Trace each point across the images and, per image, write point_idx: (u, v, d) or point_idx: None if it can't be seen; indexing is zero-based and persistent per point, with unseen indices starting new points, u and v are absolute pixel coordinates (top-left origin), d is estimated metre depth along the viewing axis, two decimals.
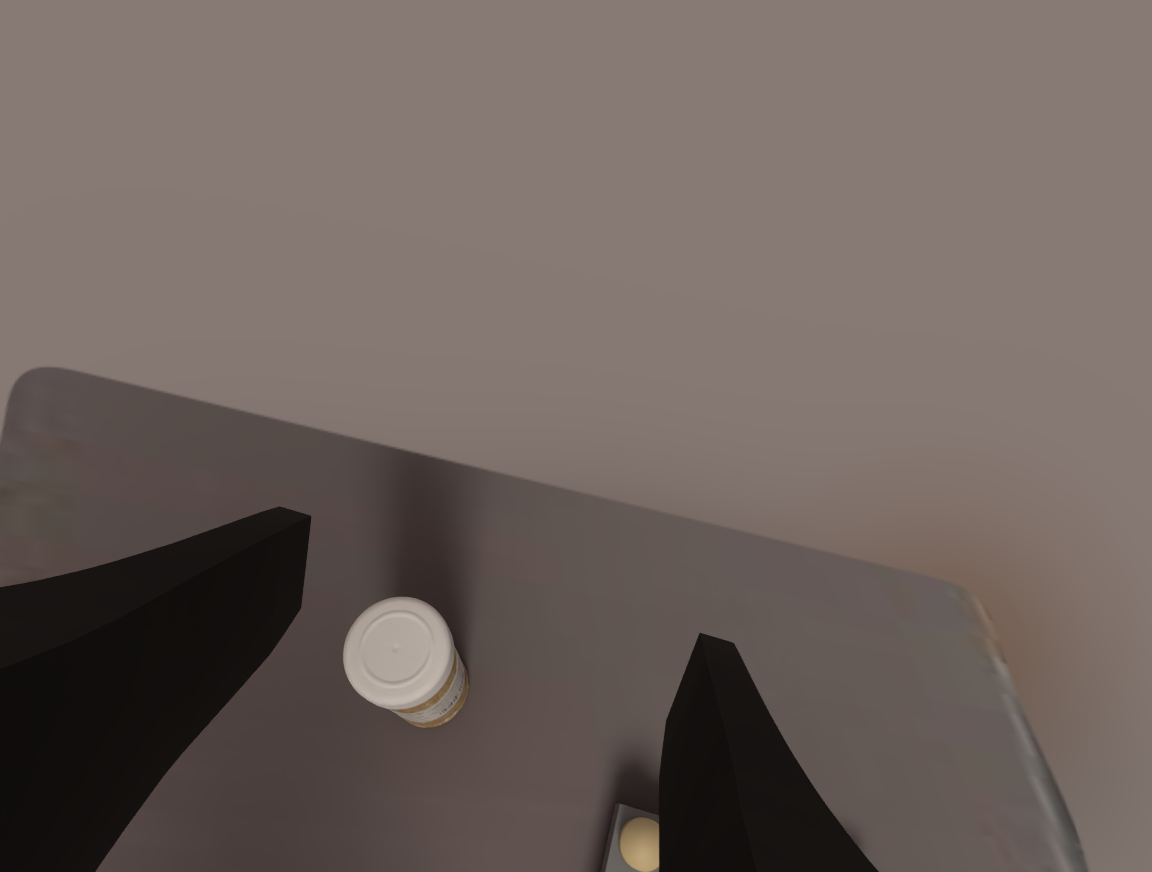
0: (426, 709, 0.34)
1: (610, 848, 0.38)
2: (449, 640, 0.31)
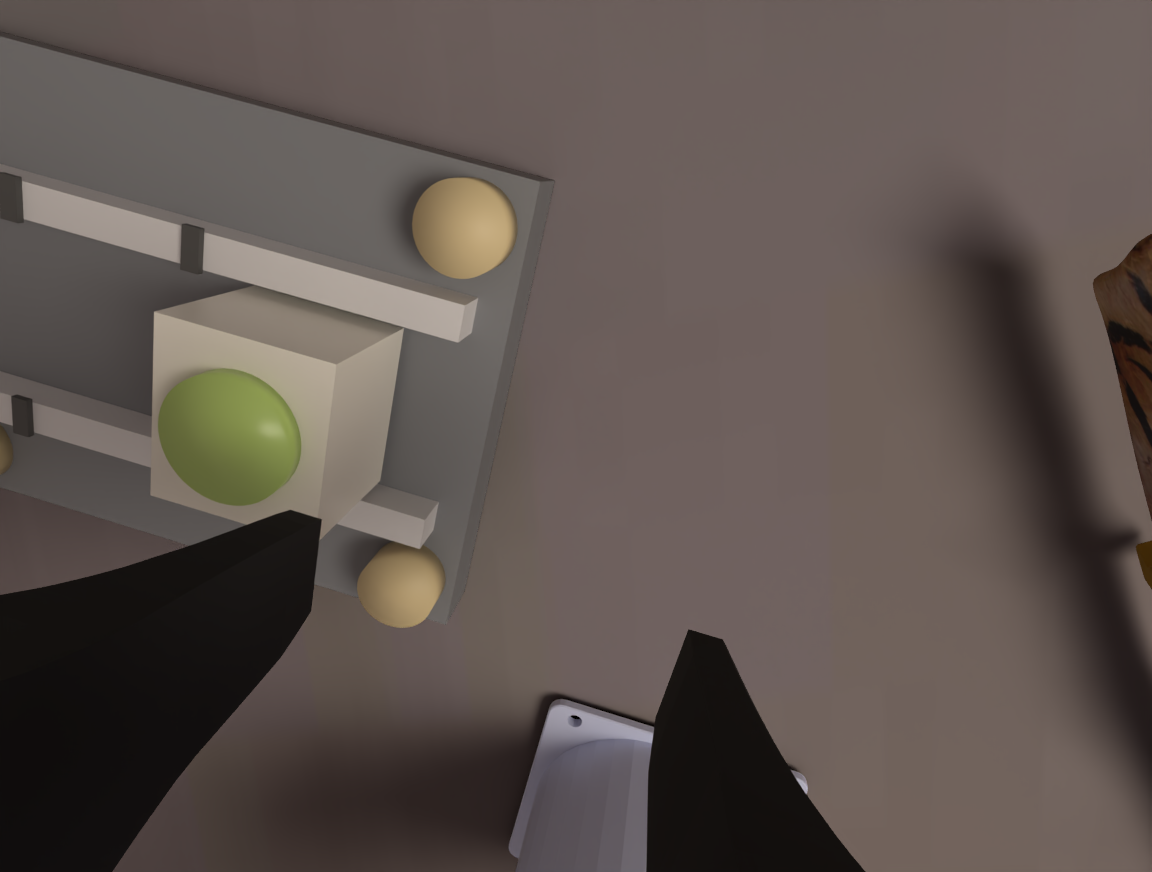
0: None
1: (3, 486, 0.24)
2: None
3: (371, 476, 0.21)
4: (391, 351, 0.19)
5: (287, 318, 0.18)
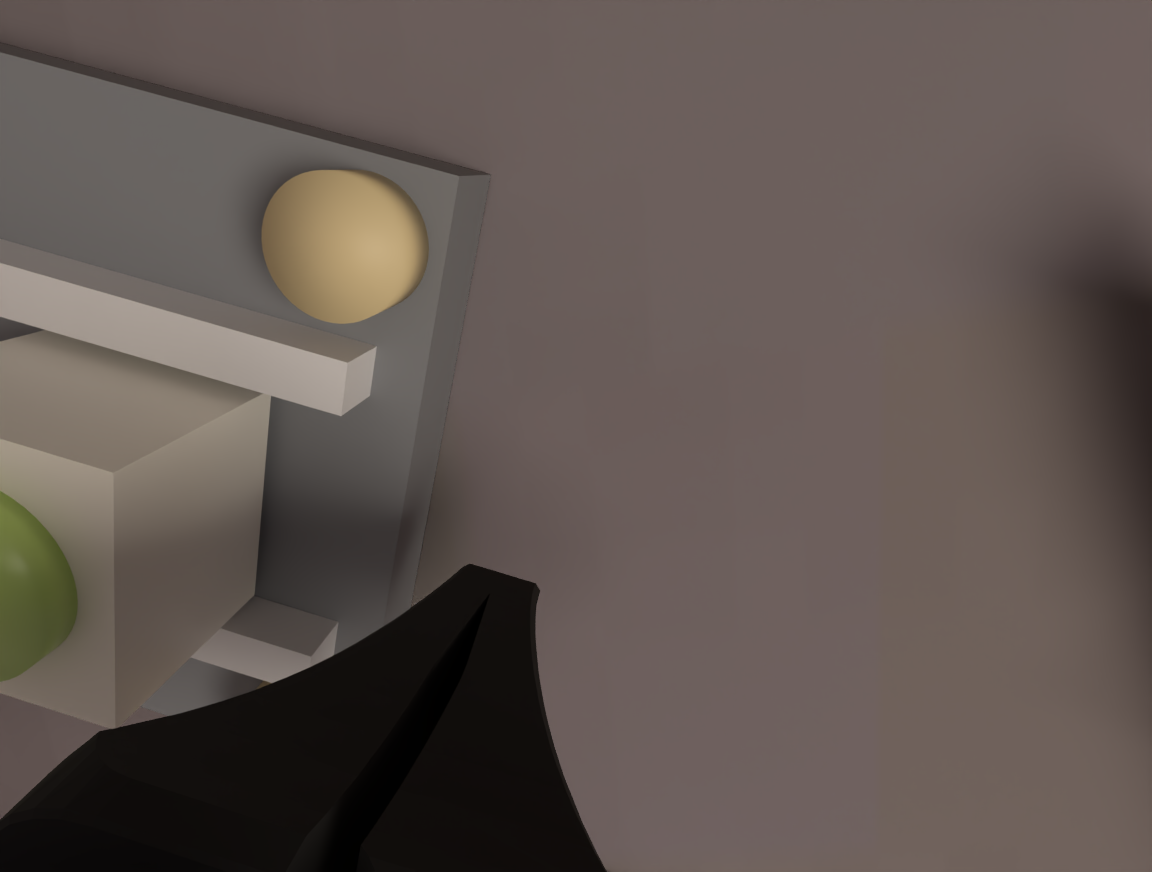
0: None
1: None
2: None
3: (235, 596, 0.15)
4: (249, 426, 0.13)
5: (76, 384, 0.12)
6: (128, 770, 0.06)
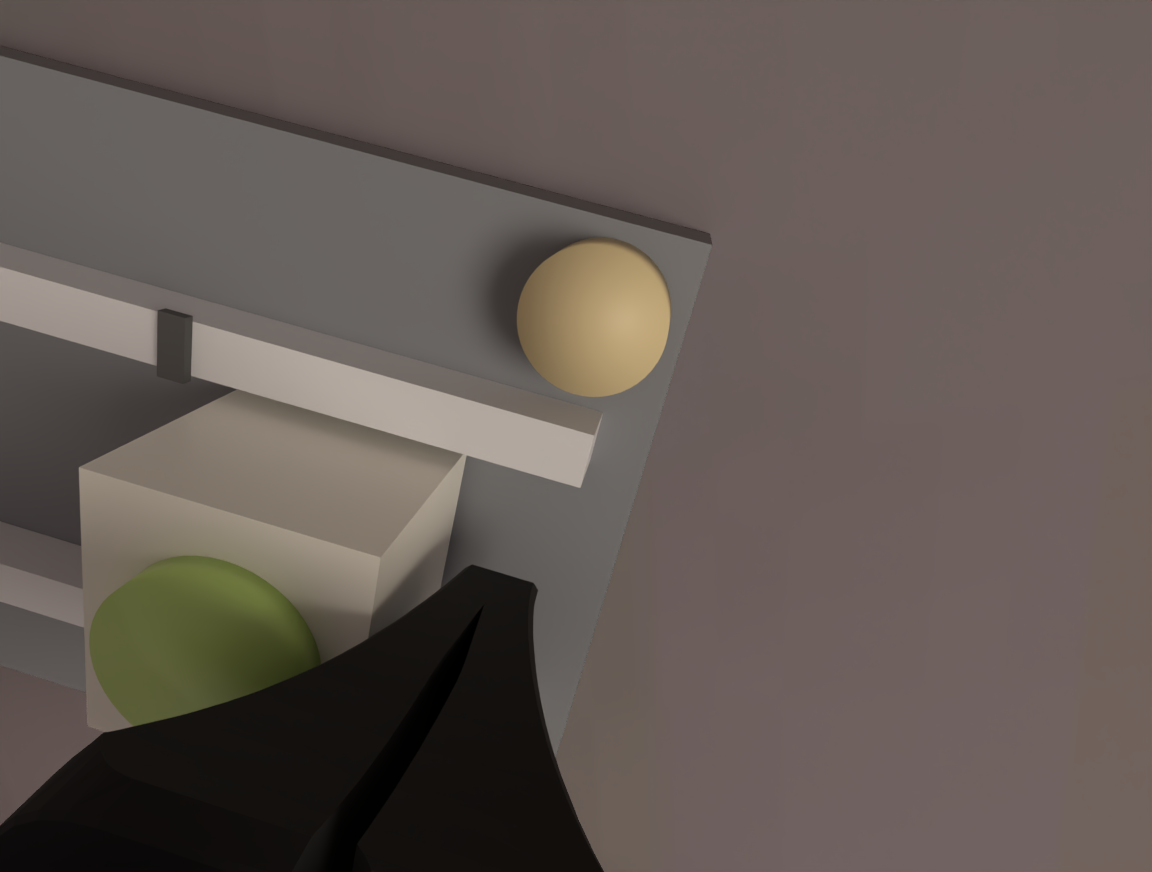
0: None
1: None
2: None
3: None
4: (452, 488, 0.13)
5: (296, 452, 0.12)
6: (133, 771, 0.06)
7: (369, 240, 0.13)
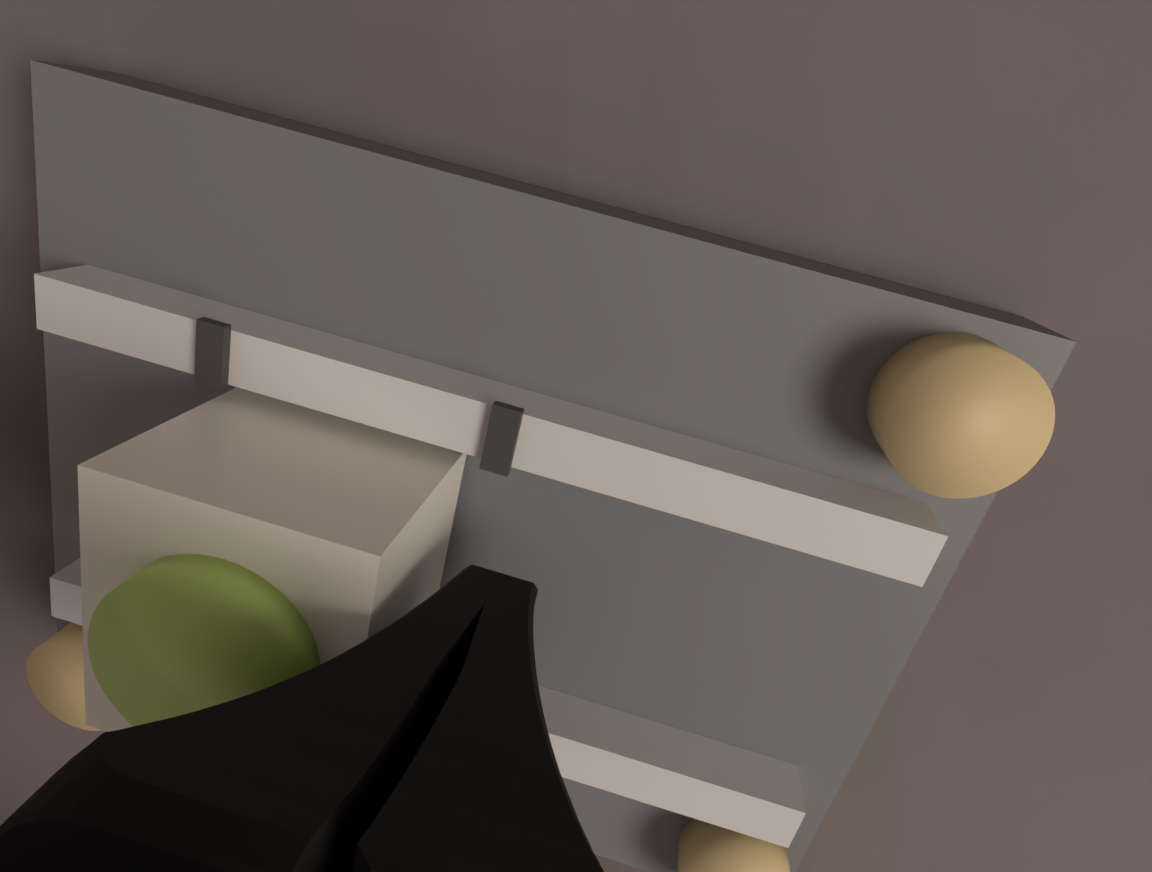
0: None
1: None
2: None
3: None
4: (451, 487, 0.13)
5: (295, 450, 0.12)
6: (132, 771, 0.06)
7: (698, 329, 0.12)
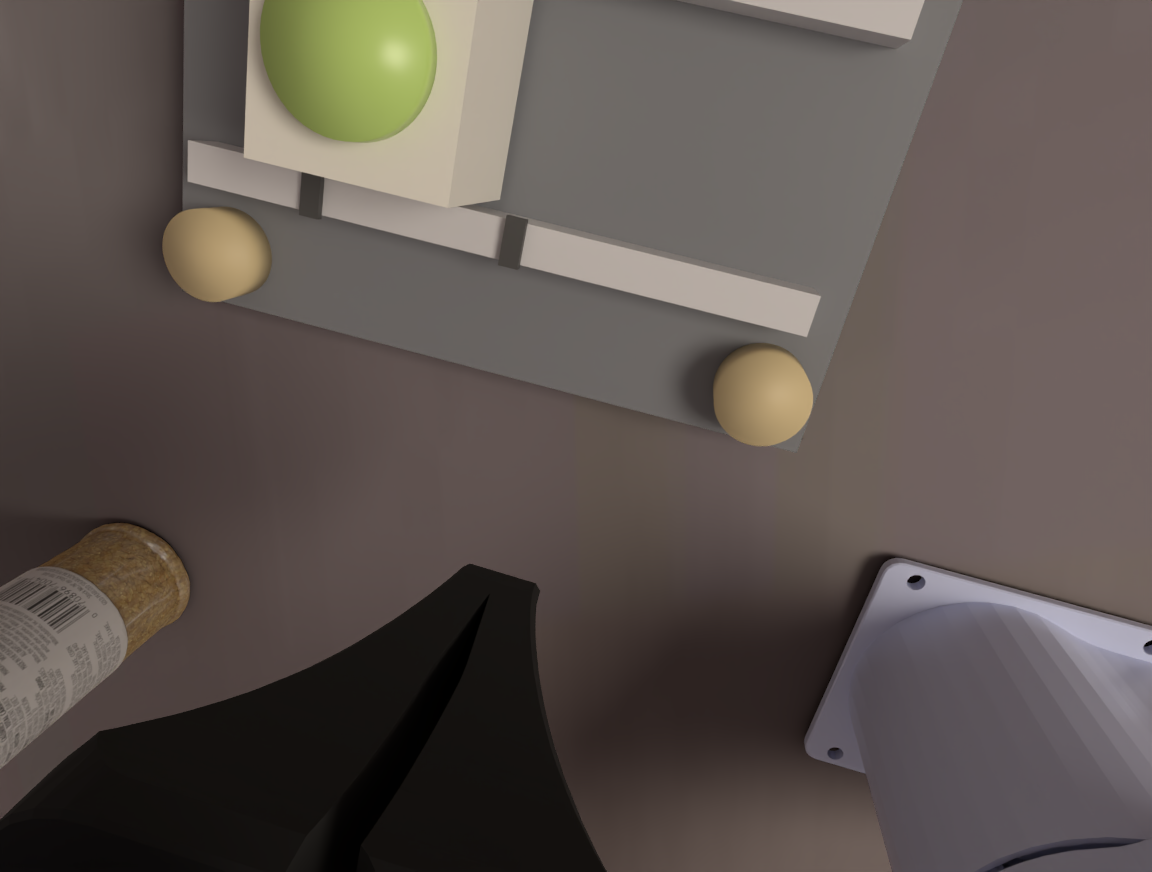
0: None
1: (253, 308, 0.21)
2: None
3: (495, 180, 0.17)
4: (525, 2, 0.16)
5: None
6: (128, 770, 0.06)
7: None
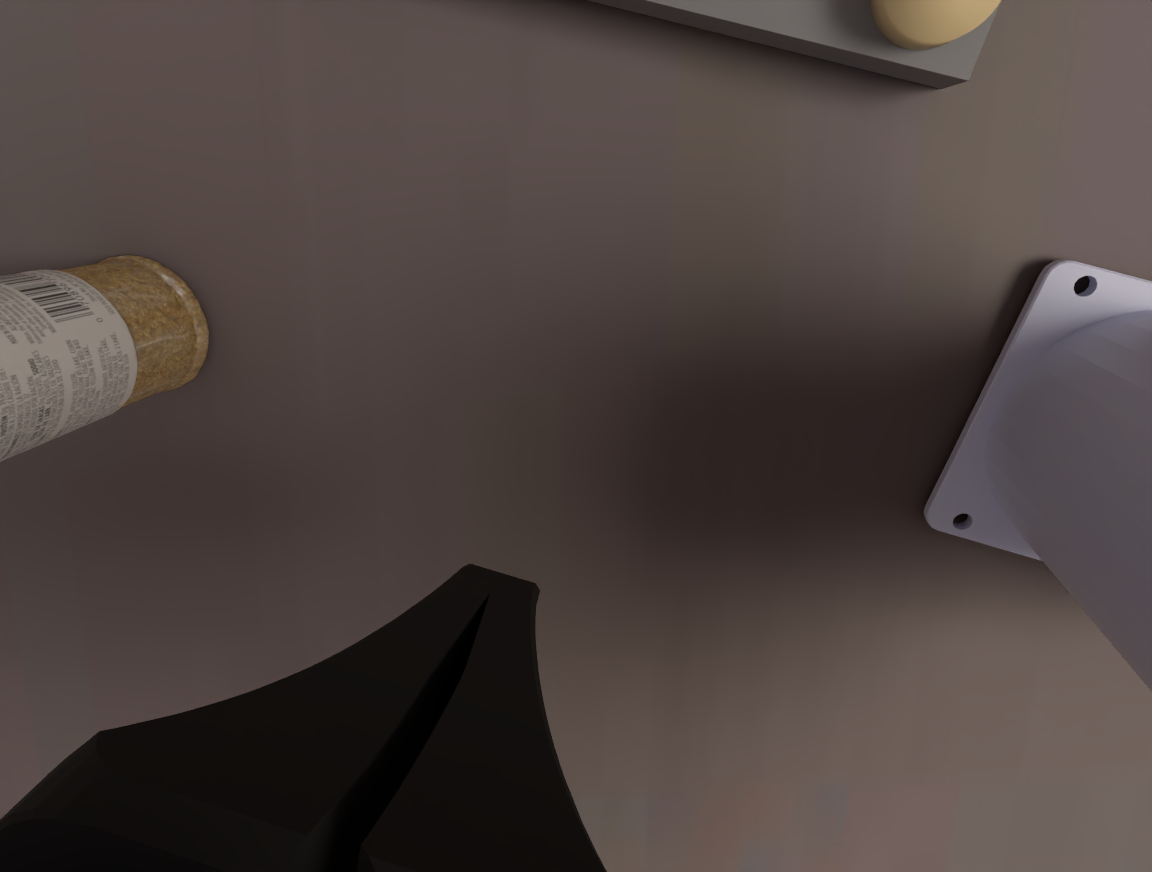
0: None
1: None
2: None
3: None
4: None
5: None
6: (128, 770, 0.06)
7: None
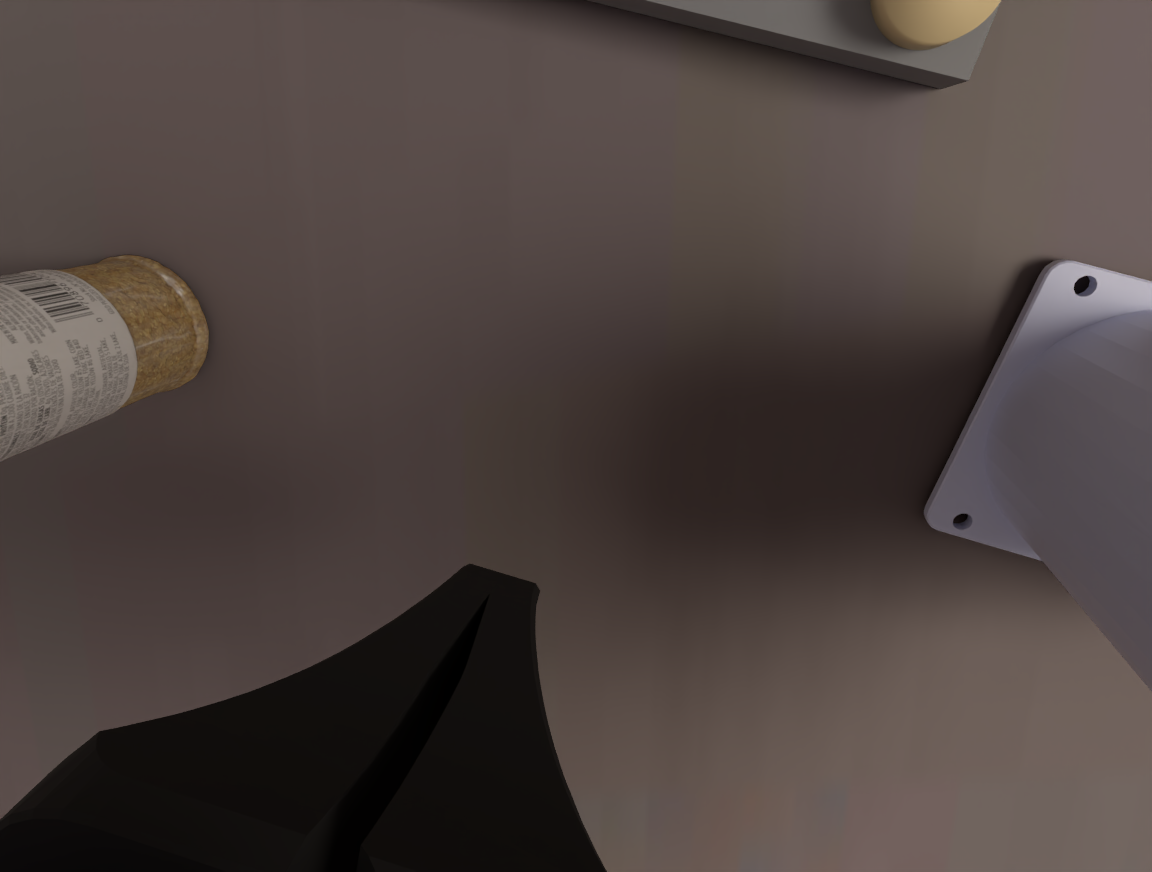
0: None
1: None
2: None
3: None
4: None
5: None
6: (128, 770, 0.06)
7: None
